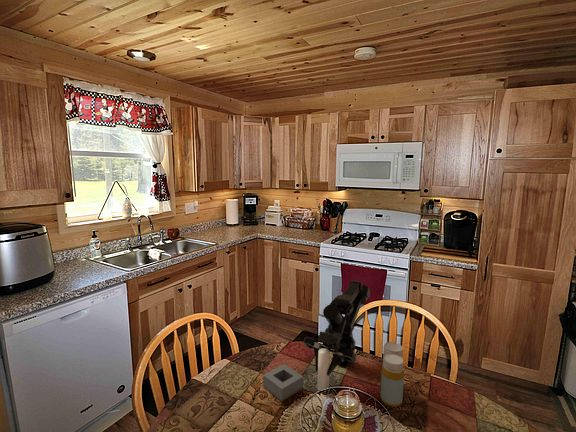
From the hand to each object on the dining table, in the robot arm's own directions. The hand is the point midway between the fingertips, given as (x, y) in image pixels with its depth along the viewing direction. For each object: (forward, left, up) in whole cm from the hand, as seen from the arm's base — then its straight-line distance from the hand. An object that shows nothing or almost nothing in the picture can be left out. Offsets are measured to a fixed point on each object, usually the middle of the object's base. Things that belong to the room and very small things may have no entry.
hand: (321, 373), depth 110 cm
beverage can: (-21, +15, -7) cm, 27 cm away
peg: (-1, 0, -7) cm, 7 cm away
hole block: (+9, -10, -7) cm, 15 cm away
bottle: (-14, +19, -7) cm, 25 cm away
